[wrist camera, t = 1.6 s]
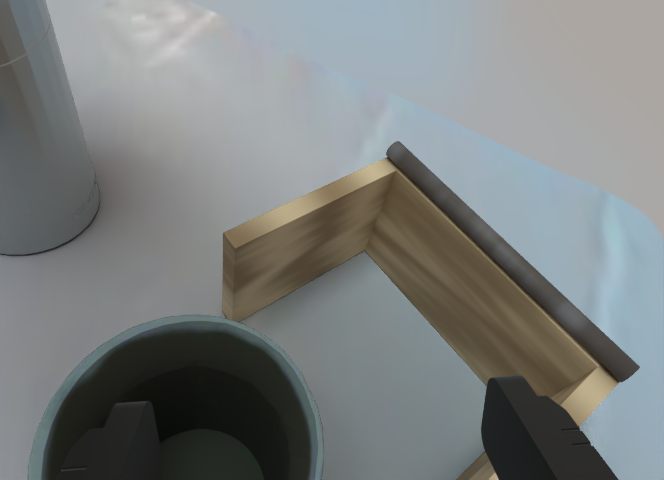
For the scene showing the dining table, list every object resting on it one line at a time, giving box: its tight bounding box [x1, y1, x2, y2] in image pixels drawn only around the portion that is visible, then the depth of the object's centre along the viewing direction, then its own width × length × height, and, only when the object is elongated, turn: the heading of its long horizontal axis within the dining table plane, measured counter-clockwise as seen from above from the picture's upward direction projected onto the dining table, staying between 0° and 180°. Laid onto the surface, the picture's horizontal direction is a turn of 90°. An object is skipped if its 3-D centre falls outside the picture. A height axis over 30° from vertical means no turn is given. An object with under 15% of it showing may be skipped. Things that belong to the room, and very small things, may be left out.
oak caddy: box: [222, 141, 640, 480], centre depth 30 cm, size 13×18×10 cm
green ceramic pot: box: [28, 315, 324, 480], centre depth 22 cm, size 10×10×12 cm
